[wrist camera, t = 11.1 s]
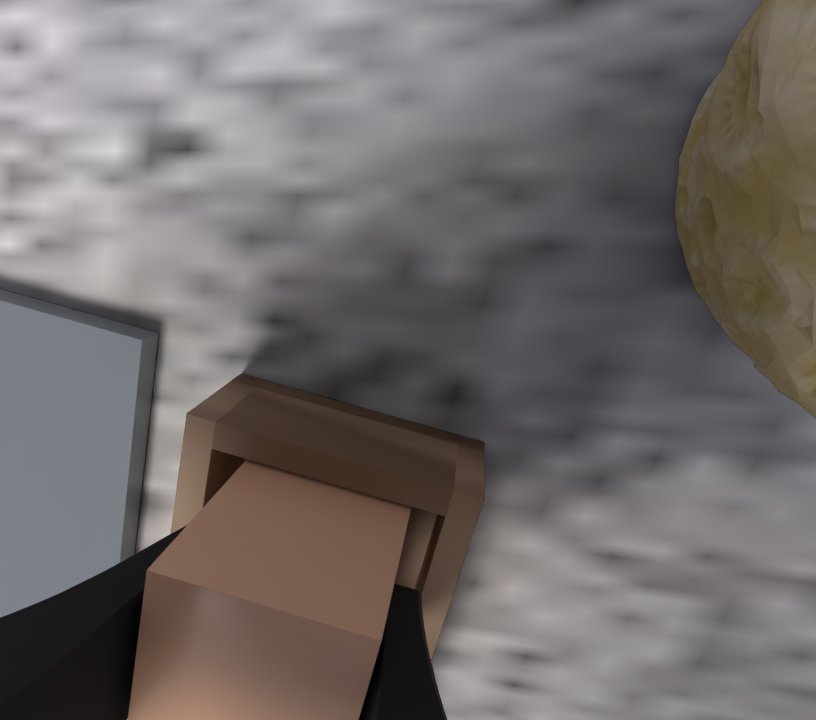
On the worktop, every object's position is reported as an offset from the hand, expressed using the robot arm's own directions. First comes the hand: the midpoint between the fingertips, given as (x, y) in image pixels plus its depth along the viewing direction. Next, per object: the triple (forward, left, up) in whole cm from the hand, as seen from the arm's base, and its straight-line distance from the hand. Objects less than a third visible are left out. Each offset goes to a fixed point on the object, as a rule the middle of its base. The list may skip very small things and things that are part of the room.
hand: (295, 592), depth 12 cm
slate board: (-2, +9, -4) cm, 10 cm away
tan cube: (0, 0, -2) cm, 2 cm away
